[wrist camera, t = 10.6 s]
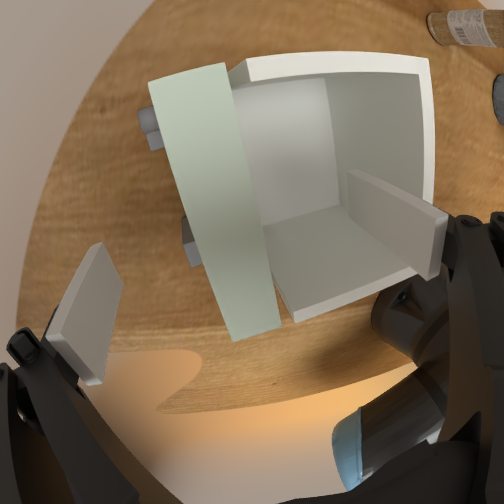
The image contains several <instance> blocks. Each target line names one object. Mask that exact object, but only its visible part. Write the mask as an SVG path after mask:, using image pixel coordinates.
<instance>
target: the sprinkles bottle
mask: <svg viewBox="0 0 504 504" xmlns="http://www.w3.org/2000/svg"><path fill="white" fill-rule="evenodd" d="M427 22H428V27H429V30H430V33H431V34H432V36H433V37H434V39H435V40H436V41H437V42H438V43H440V44H442V45H449V44H458V45H472V46H487V47H503V48H504V10H487V9H471V10H454V11H449V12H439V13H436V12H432V13H430V14H429V16H428V18H427Z"/></svg>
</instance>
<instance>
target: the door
mask: <svg viewBox="0 0 504 504" xmlns="http://www.w3.org/2000/svg"><path fill="white" fill-rule="evenodd" d="M148 87H149V91H150V95H151V99H152V102H153V106H150V107H147V108H144V109H141V110H138V118H139V122H140V126H141V128H142V131H143V133H144V134H145V135H146V134H149V133H152V132H154V131H157V130H160V131H161V135H162V138H163V142H164V145H165V149H166V152H167V156H168V159H169V162H170V165H171V169H172V172H173V175H174V178H175V182H176V185H177V188H178V191H179V194H180V197H181V200H182V204H183V207H184V210H185V213H186V216H187V219H188V222H189V225H190V228H191V231H192V233H193V236H194V239H195V242H196V245H197V248H198V251H199V254H200V256H201V259H202V262H203V265H204V268H205V270H206V273H207V276H208V279H209V281H210V284H211V287H212V289H213V292H214V295H215V297H216V300H217V303H218V305H219V308H220V310H221V313H222V316H223V318H224V321H225V323H226V326H227V328H228V331H229V333H230V336H231V338H232V341H233V342H235V341H239V340H242V339H245V338H249V337H252V336H255V335H258V334H261V333H264V332H267V331H270V330H273V329H276V328H279V327H282V325H281V320H280V315H279V310H278V305H277V300H276V295H275V290H274V285H273V280H272V275H271V270H270V265H269V261H268V256H267V251H266V246H265V241H264V236H263V232H262V227H261V222H260V217H259V213H258V208H257V203H256V199H255V194H254V189H253V185H252V180H251V176H250V171H249V167H248V162H247V157H246V153H245V148H244V144H243V139H242V135H241V131H240V126H239V122H238V117H237V113H236V108H235V104H234V100H233V95H232V91H231V87H230V83H229V78H228V74H227V70H226V66H225V62H223V63H218V64H213V65H208V66H204V67H200V68H196V69H192V70H188V71H184V72H180V73H177V74H173V75H170V76H167V77H163V78H160V79H157V80H154V81H151V82H148Z"/></svg>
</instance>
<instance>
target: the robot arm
mask: <svg viewBox="0 0 504 504" xmlns="http://www.w3.org/2000/svg"><path fill="white" fill-rule="evenodd" d="M346 174H347V185H348V199H349V215H350V219H352V220H353V221H354V222H356V223H357V224H358V225H359V226H361V227H362V228H363V229H365V230H366V231H367V232H368V233H370V234H371V235H372V236H374V237H375V238H376V239H377V240H379V241H380V242H381V243H382V244H384V245H385V246H386V247H387V248H388V249H390V250H391V251H392V252H393V253H395V254H396V255H397V256H398V257H399V258H401V259H402V260H403V261H404V262H405V263H406V264H408V265H409V266H410V267H411V268H412V269H413V270H415V271H416V272H417V273H418V274H416V275H414V276H412V277H409V278H407V279H405V280H403V281H401V282H398V283H396V284H394V285H392V286H389V287H387V288H385V289H383V291H382V292H381V294H380V296H379V297H378V299H377V301H376V304H375V306H374V309H373V312H372V319H371V322H372V326H373V329H374V330H375V331H376V333H377V334H378V335H379V337H380V338H381V339H382V340H383V341H384V342H386V343H388V344H390V345H391V346H393V347H394V348H396V349H397V350H399V351H401V352H402V353H404V354H405V355H407V356H409V357H410V358H411V359H412V360H413V362H414V363H415V364H416V366H417V367H418V368H417V369H416V370H415V371H414V372H412V373H411V374H409V375H408V376H407V377H405V378H404V379H403V380H401V381H400V382H399V383H397V384H396V385H394V386H393V387H392V388H390V389H389V390H387V391H386V392H384V393H383V394H381V395H380V396H378V397H377V398H375V399H374V400H372V401H371V402H369V403H367V404H366V405H364V406H361V407H359V408H358V410H357V411H355V412H354V413H352V414H351V415H349V416H347V417H346V418H344V419H343V420H341V421H340V422H339V423H337V425H336V426H335V427H334V430H333V433H332V447H333V454H334V459H335V462H336V466H337V469H338V472H339V475H340V478H341V480H342V482H343V484H344V486H345V488H346V490H347V491H348V492H344V493H339V494H333V495H326V496H318V497H310V498H299V499H293V500H290V501H286V502H283V503H279V504H504V212H501V211H500V212H493V213H491V218H490V223H487V224H483V223H482V222H481V221H480V220H479V219H477V218H475V217H473V216H469V215H459V216H457V217H456V218H455V217H453V216H452V215H450V214H448V213H446V212H445V211H443V210H441V209H439V208H436V206H434V205H431V204H430V203H428V202H426V201H424V200H423V199H420V198H418V197H416V196H414V195H412V194H410V193H408V192H406V191H404V190H402V189H400V188H398V187H396V186H394V185H392V184H390V183H387V182H385V181H383V180H381V179H379V178H377V177H374V176H372V175H370V174H368V173H365V172H363V171H361V170H359V169H357V170H352V171H348V172H346ZM123 287H124V284H123V282H122V280H121V278H120V276H119V274H118V272H117V270H116V268H115V266H114V264H113V262H112V260H111V258H110V256H109V254H108V252H107V250H106V248H105V246H104V243H103V242H100V243H98V244H95V245H92V246H90V248H89V250H88V251H87V253H86V255H85V257H84V258H83V260H82V262H81V264H80V266H79V267H78V269H77V271H76V273H75V275H74V277H73V279H72V280H71V282H70V284H69V286H68V288H67V290H66V292H65V294H64V296H63V298H62V300H61V302H60V304H59V305H58V306H57V307H56V309H55V310H54V312H53V314H52V316H51V319H50V321H49V323H48V326H47V328H46V330H45V332H44V334H43V337H42V339H41V342H39V340H38V339H37V338H36V336H35V335H34V334H33V333H32V331H31V330H30V329H29V328H28V327H25V328H22V329H20V330H19V331H17V332H16V333H15V334H14V335H13V336H12V337H11V339H10V340H9V342H8V344H7V349H6V350H7V351H8V353H9V354H10V355H11V356H12V357H13V359H14V360H15V361H16V362H17V363H18V364H19V365H20V367H18V368H17V369H15V370H12V369H11V368H10V367H9V366H8V365H7V364H6V363H1V364H0V504H76V503H75V500H74V497H73V495H72V492H71V490H70V487H69V484H68V481H67V478H68V479H69V481H70V483H71V484H72V485H73V487H74V489H75V491H76V492H77V493H78V495H79V497H80V498H81V500H82V501H83V503H84V504H183V503H182V502H181V501H179V499H177V498H176V497H175V496H174V495H173V494H172V493H170V492H169V491H168V490H167V489H166V488H165V487H164V486H163V485H162V484H161V483H160V482H159V481H158V480H157V479H155V477H154V476H153V475H152V474H151V473H150V472H149V471H148V470H147V469H146V468H145V467H144V466H143V465H142V464H141V463H140V462H139V461H138V460H137V459H136V458H135V457H134V456H133V455H132V453H131V452H130V451H129V450H128V449H127V448H126V447H125V445H124V444H123V443H122V442H121V441H120V439H119V438H118V437H117V436H116V435H115V434H114V432H113V431H112V430H111V428H110V427H109V426H108V425H107V424H106V422H105V421H104V419H103V418H102V417H101V415H100V414H99V413H98V412H97V410H96V409H95V407H94V406H93V404H92V403H91V401H90V400H89V399H88V397H87V396H86V394H85V393H84V391H83V390H82V389H81V388H80V387H79V386H78V385H77V383H78V379H79V377H80V378H81V379H82V380H83V381H84V382H85V383H86V384H87V386H90V385H96V384H103V380H104V374H105V368H106V362H107V357H108V352H109V346H110V341H111V337H112V332H113V327H114V323H115V319H116V314H117V310H118V306H119V302H120V298H121V294H122V291H123ZM18 413H19V414H21V415H22V416H23V420H22V419H21V418H20V416H19V414H18ZM65 474H66V475H65ZM66 476H67V478H66Z"/></svg>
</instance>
